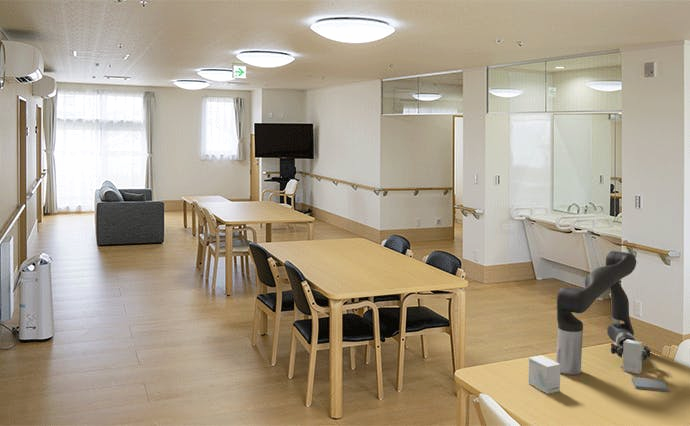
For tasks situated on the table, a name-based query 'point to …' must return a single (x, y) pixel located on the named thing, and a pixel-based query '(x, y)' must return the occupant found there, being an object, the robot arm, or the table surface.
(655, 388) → the mat
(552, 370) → the skincare box
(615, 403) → the table surface
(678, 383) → the table surface
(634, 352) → the skincare box
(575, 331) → the robot arm
